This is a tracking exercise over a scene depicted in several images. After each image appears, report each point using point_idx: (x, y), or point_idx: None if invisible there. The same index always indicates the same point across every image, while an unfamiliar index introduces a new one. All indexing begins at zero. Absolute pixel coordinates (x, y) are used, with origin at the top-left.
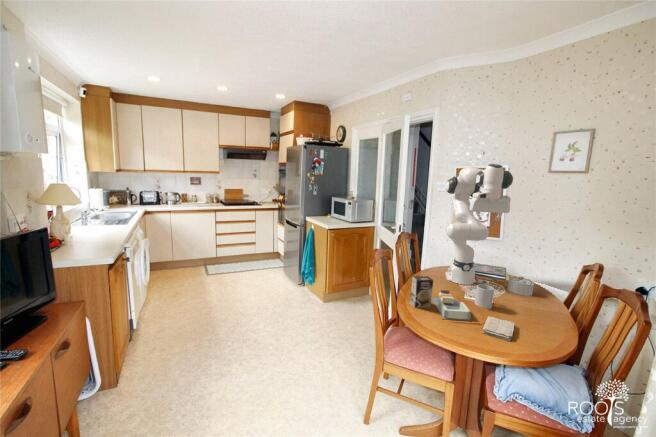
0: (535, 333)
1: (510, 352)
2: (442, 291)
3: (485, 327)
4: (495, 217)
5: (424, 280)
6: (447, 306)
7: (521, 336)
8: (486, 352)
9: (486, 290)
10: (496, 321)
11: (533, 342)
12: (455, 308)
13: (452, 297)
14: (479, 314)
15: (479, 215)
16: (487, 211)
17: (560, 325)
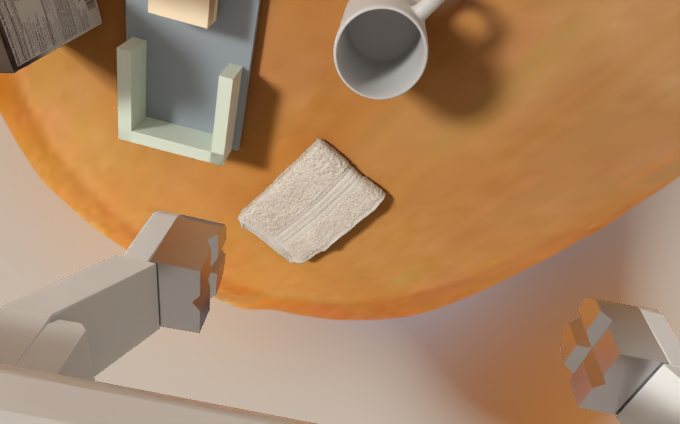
0: (419, 238)
1: (263, 291)
2: None
3: (249, 215)
4: (609, 362)
5: None
6: (183, 28)
7: (356, 244)
8: None
9: (357, 92)
10: (314, 192)
11: (366, 271)
12: (213, 53)
13: (202, 16)
14: (308, 99)
15: (111, 356)
16: None
17: (572, 213)
